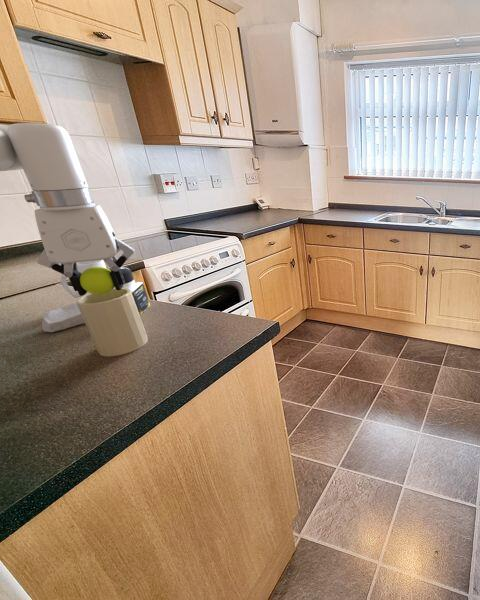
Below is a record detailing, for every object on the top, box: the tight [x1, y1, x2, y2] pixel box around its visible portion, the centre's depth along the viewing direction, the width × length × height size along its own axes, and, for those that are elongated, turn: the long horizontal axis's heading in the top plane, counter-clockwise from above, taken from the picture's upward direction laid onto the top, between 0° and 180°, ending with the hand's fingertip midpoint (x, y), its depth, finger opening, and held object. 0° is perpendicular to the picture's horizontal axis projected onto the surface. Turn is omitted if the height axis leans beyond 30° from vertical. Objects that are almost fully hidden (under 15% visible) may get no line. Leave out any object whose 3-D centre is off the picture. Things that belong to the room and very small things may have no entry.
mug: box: [60, 259, 107, 299], centre depth 93 cm, size 10×7×12 cm, turn 131°
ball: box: [80, 267, 115, 294], centre depth 68 cm, size 6×6×6 cm
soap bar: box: [41, 302, 85, 333], centre depth 83 cm, size 10×6×6 cm, turn 144°
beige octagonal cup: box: [75, 288, 149, 357], centre depth 72 cm, size 9×9×12 cm
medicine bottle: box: [108, 266, 151, 316], centre depth 87 cm, size 7×7×12 cm
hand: (102, 289), depth 69 cm, fingers closed on ball, 5 cm apart
